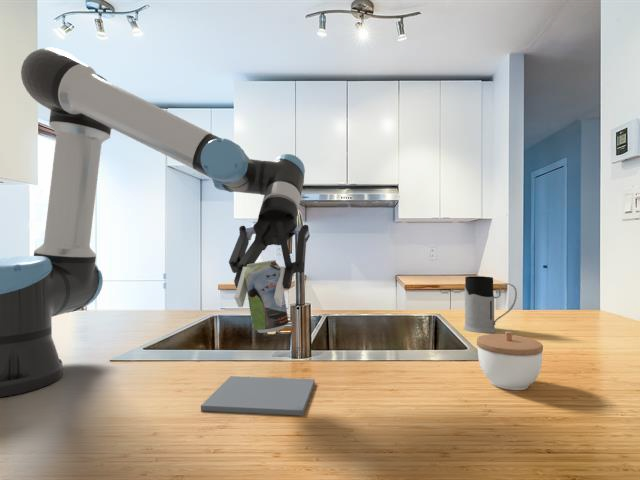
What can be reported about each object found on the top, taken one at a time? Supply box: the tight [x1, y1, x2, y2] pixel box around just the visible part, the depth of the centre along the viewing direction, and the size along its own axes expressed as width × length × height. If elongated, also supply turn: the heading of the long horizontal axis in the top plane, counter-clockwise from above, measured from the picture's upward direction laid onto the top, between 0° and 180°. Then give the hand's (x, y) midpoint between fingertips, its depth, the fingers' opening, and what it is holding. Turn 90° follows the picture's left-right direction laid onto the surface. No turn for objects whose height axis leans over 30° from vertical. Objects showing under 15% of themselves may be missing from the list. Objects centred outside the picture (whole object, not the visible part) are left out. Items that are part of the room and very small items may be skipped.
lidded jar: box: [476, 331, 544, 391], centre depth 70 cm, size 11×11×9 cm
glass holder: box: [463, 275, 518, 334], centre depth 111 cm, size 9×14×15 cm, turn 54°
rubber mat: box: [200, 375, 316, 417], centre depth 66 cm, size 16×13×1 cm
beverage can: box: [245, 259, 289, 334], centre depth 65 cm, size 6×7×12 cm
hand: (258, 302), depth 63 cm, fingers closed on beverage can, 6 cm apart
